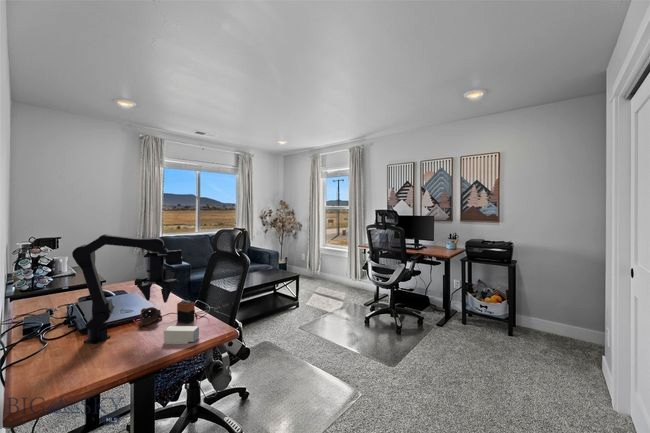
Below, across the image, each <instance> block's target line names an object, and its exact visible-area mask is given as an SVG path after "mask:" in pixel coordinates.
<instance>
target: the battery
mask: <svg viewBox="0 0 650 433" xmlns="http://www.w3.org/2000/svg"><path fill="white" fill-rule="evenodd" d="M176 311H177V313H176V317H177V318H176V320H177V323H182V324H186V325H188V324H190V323H192V322H194V321H195V302H193V301H191V300H185V299H182V300H181V301H180V302H177V304H176Z"/></svg>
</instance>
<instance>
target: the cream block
mask: <svg viewBox="0 0 650 433" xmlns="http://www.w3.org/2000/svg"><path fill="white" fill-rule="evenodd" d="M199 335H200V326H199V325H198V326H197V325H196V326H195V325H189V326H188V325H185V326H184V325H170V326H168V327H167V328H165V329H164V330H163V342H164V343H165V342H190V343H192V342H193V343H195V342H196V341H197V340H198V338H199Z"/></svg>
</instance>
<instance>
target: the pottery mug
mask: <svg viewBox="0 0 650 433" xmlns="http://www.w3.org/2000/svg"><path fill="white" fill-rule="evenodd" d="M157 320H160V321H162V320H163V315H162V312H161V310H160V309H158V308H156V307H155V306H154V307H151V306H150V307H147V308H146V307H145V308H144V307H143V308H142V309H141V310H140V314H139V326H141V327H143V326H145V325H149V324H152V323H153V322H155V321H157Z"/></svg>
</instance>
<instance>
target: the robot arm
mask: <svg viewBox="0 0 650 433" xmlns="http://www.w3.org/2000/svg"><path fill="white" fill-rule="evenodd" d="M106 245H107V246H118V247H126V248H127V247H129V248H138V249H142V250H144V251H147V252H146V253H145V254H144V255H143V258H148V269H146V273H148V276H146V275H145V276H141V277H138V278H135V279H134V286H136V288H138V289H139V290H140V292H141V293H142V295H143V296H144V298H145V300H146V301H147V302H148V301H150V299H151V287H152V286H153V285H159V286H161V288H160V291H161V296H162V300H163V303H165V304H166V303H167V302H168V299H169V297H170V294H171V292H172V290H173V289H174V288H176V287H178V286H179V280H178V279H176V278H174V277H175V272H174V271H168V270H167V267H165V265H168V266H169V267H170V266H181V265H183V255H182V249H177V250H169V248H167V246H165V242H164V239H162V238H161V237H157V236H156V237H144V238H143V237H141V238H140V237H139V238H138V237H129V236H120V235H112V234H102V235H100V236H99V237H98V238H96V239H94V240H93V241H91V242H89V243H88V244H82V245H80V246H78V247H76V248H74V249H73V251H72V254H71V256H72V258H73V259H74V262H75V263H76V265H77V266H79V268H80V269H81V271H82V274H83V277H84V280H85V283H86V286H87V287H86V288H87V290H88V292H89V296H90V299H91V302H92V303H91V317H90V319H88V321H87V322H86V323H85V325H84V326H85V328H86V330H87V338H86V339H84V340H83V342H84V343H90V344H94V345H95V344H98V343H100V342H102V341H105V340H107V339H109V338H111V337H112V336H111V335H110V334H108V324H107V321H108V320H109V319H110V318H111V316H112V314H113V312H114V309H115V305H113V300H112V299H111V298H110V299H107V298H106V297H105V294H104V289H103V287H102V284H101V280H100V277H99V274H98V270H97V267H96V251H98V250H99V249H101V248H102V247H104V246H106Z"/></svg>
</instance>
